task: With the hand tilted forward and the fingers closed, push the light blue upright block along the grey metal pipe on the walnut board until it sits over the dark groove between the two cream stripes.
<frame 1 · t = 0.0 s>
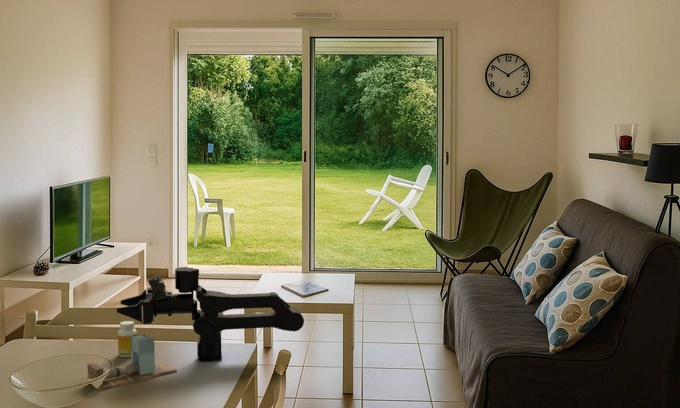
hand: (118, 306, 193), 17 cm above the table, tool horizontal, fingers open, 9 cm apart
pipe rig: (132, 376, 184), on the table
light blue upright block: (142, 354, 185), point 5 cm above the table, slide at -3.0 cm
supplement bottle: (127, 355, 202), on the table
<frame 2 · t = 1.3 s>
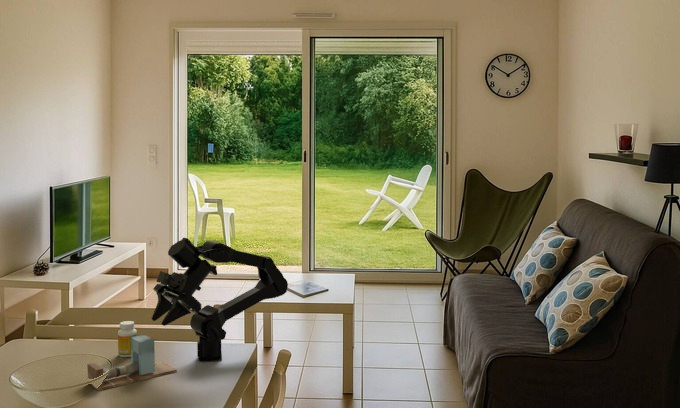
hand: (157, 322, 188), 14 cm above the table, tool tilted 45°, fingers open, 6 cm apart
nothing on the table moved.
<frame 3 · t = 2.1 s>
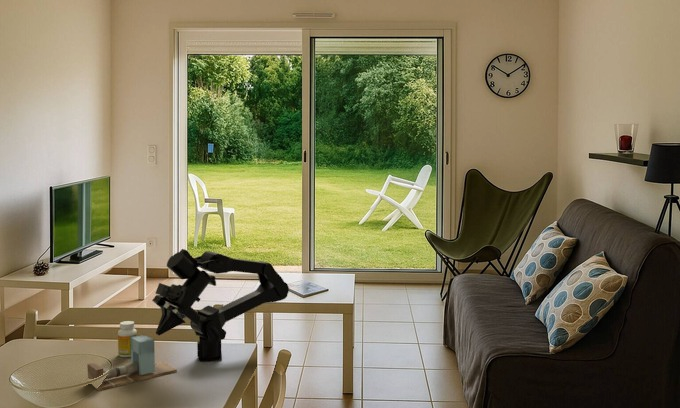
hand: (157, 334, 188), 10 cm above the table, tool tilted 45°, fingers closed
nothing on the table moved.
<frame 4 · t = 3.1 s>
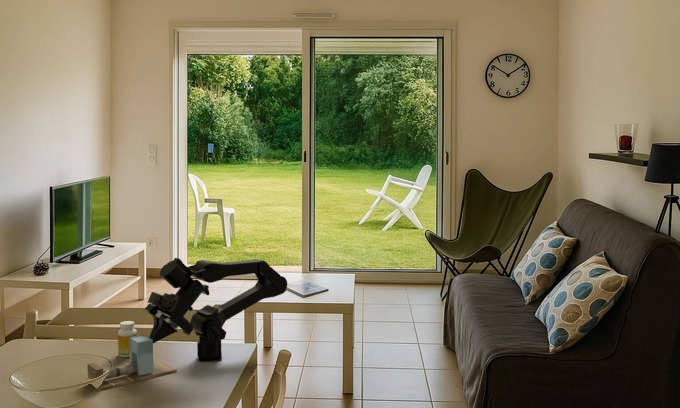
hand: (148, 343, 186), 8 cm above the table, tool tilted 45°, fingers closed, pressing on light blue upright block
light blue upright block: (141, 354, 185), point 5 cm above the table, slide at -2.6 cm, touching gripper
everything else where it was.
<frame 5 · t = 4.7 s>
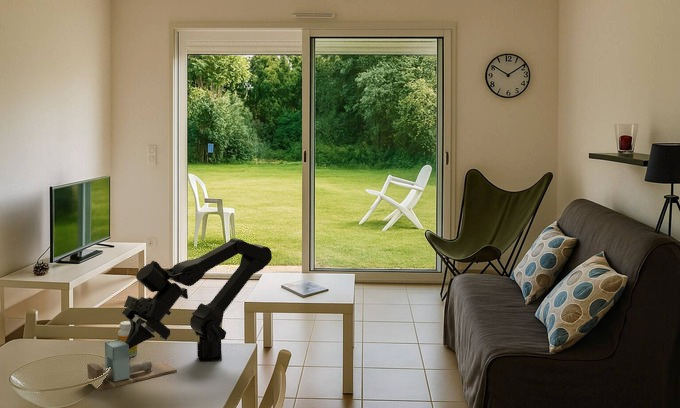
hand: (125, 348, 182), 8 cm above the table, tool tilted 45°, fingers closed, pressing on light blue upright block
light blue upright block: (117, 360, 181), point 5 cm above the table, slide at 4.2 cm, touching gripper
everything else where it was.
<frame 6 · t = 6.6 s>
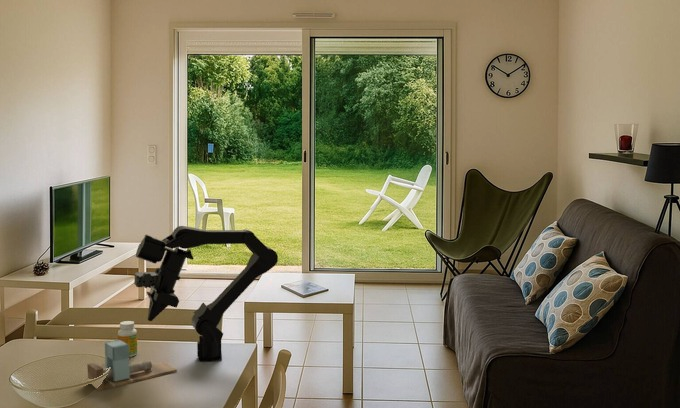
hand: (149, 320, 192), 13 cm above the table, tool tilted 25°, fingers closed
light blue upright block: (117, 360, 181), point 5 cm above the table, slide at 4.2 cm
everything else where it was.
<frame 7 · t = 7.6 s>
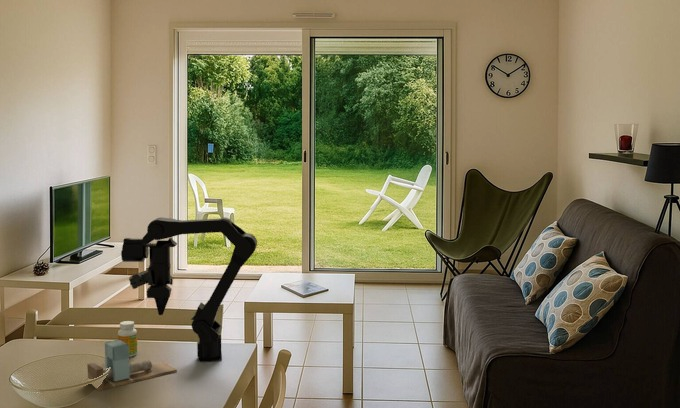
hand: (160, 314, 198), 13 cm above the table, tool pointing down, fingers closed
nothing on the table moved.
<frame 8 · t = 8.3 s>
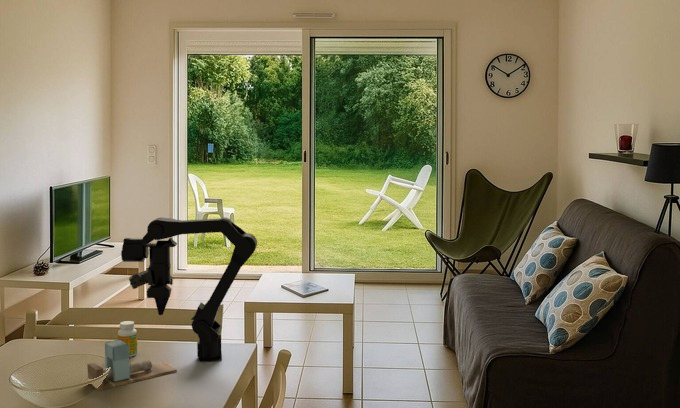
hand: (160, 314, 198), 13 cm above the table, tool pointing down, fingers closed
nothing on the table moved.
at the end: light blue upright block slide at 4.2 cm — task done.
